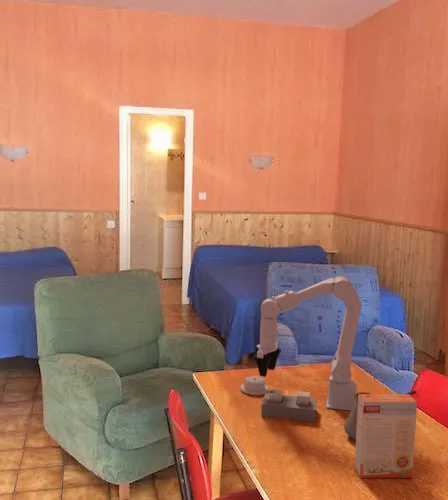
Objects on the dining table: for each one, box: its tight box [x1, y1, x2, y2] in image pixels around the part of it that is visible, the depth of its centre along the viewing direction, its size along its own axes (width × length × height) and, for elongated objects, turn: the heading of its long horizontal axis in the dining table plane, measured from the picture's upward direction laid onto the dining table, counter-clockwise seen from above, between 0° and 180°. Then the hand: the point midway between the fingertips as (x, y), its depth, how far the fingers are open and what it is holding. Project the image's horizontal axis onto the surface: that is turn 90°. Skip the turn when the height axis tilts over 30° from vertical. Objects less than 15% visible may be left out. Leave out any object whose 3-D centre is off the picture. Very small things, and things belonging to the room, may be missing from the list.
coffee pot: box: [343, 390, 419, 442], centre depth 170 cm, size 21×12×15 cm, turn 89°
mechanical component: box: [239, 375, 269, 396], centre depth 206 cm, size 10×4×10 cm
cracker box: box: [354, 393, 418, 479], centre depth 149 cm, size 14×6×21 cm, turn 92°
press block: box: [260, 392, 317, 423], centre depth 186 cm, size 17×10×4 cm, turn 79°
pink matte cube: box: [296, 390, 311, 406], centre depth 185 cm, size 4×4×4 cm
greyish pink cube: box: [268, 388, 284, 403], centre depth 187 cm, size 4×4×4 cm
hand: (267, 372), depth 196 cm, fingers open, 7 cm apart
